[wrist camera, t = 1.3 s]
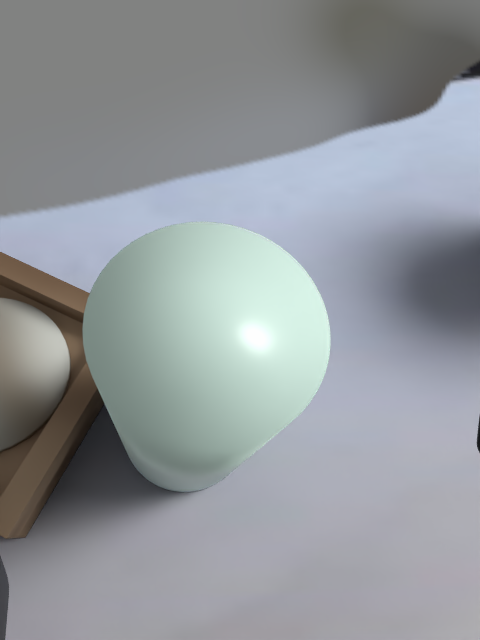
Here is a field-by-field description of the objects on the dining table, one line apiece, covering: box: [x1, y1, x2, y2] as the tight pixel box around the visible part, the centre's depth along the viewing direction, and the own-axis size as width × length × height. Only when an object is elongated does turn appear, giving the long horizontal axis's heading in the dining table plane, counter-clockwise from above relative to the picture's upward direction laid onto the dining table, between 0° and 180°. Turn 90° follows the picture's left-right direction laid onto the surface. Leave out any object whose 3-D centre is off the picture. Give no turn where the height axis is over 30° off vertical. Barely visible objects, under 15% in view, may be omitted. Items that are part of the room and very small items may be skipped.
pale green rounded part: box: [82, 222, 330, 492], centre depth 16 cm, size 6×6×12 cm
